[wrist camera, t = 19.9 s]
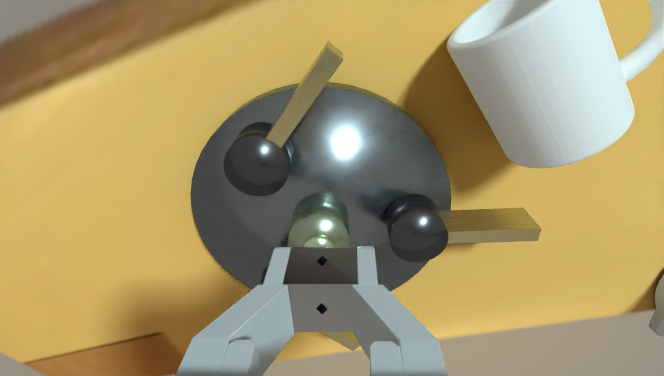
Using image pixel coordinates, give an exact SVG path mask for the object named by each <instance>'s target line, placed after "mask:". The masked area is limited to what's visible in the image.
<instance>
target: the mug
mask: <svg viewBox="0 0 664 376" xmlns="http://www.w3.org/2000/svg"><path fill="white" fill-rule="evenodd" d="M647 1H648V4H649V7H650V11H651V25H650V29H649V31H648V33H647V35H646V36H645V38H644V39H643V40H642V41H641V42H640V43H639V44H638V45H637V46H636V47H635V48H634V49H633V50H632V51H630V52H629V53H628V54H627V55H625V56H624V57H623V58H621V59H620V60H618V58H617V55H616V52H615V49H614V46H613V43H612V40H611V36H610V33H609V30H608V27H607V24H606V21H605V18H604V15H603V12H602V9H601V6H600V3H599V0H489V1H487V2H486V3H485V4H483V5H482V6H481V7H479V8H478V9H477V10H475V11H474V12H473V13H472V14H471V15H469V16H468V17H467V18H466V19H465V20H464V21H463V22H462V23H461V24H460V25H459V26H458V27H457V28H456V29H455V30H454V31H453V33H452V34H451V35H450V37H449V39H448V41H447V50H448V52H449V54H450V55H451V57H452V59H453V61H454V63H455V64H456V66H457V68H458V70H459V72H460V73H461V75H462V77H463V79H464V81H465V82H466V84H467V86H468V88H469V90H470V91H471V93H472V95H473V97H474V99H475V101H476V102H477V104H478V106H479V108H480V110H481V111H482V113H483V115H484V117H485V119H486V120H487V122H488V124H489V126H490V128H491V129H492V131H493V133H494V135H495V137H496V138H497V140H498V142H499V144H500V146H501V147H502V149H503V151H504V153H505V155H506V156H507V157H508V159H509V160H511V161H512V162H514V163H515V164H518V165H520V166H524V167H529V168H551V167H558V166H563V165H567V164H571V163H574V162H577V161H580V160H583V159H585V158H588V157H590V156H592V155H594V154H596V153H598V152H600V151H602V150H604V149H605V148H607V147H608V146H610V145H611V144H613V143H614V142H615V141H616V140H618V139H619V138H620V137H621V136H622V135H623V134H624V133H625V132H626V131H627V129H628V128H629V126H630V125H631V123H632V121H633V118H634V106H633V103H632V100H631V97H630V94H629V91H628V88H627V85H626V83H627V82H628V81H630V80H631V79H632V78H634V77H635V76H636V75H638V74H639V73H640V72H642V71H643V70H644V69H645V68H646V67H647V66H649V65H650V64H651V63H652V62H653V61H654V60H655V59H656V57H657V56H658V55H659V54H660V53H661V51H662V50H663V49H664V0H647Z"/></svg>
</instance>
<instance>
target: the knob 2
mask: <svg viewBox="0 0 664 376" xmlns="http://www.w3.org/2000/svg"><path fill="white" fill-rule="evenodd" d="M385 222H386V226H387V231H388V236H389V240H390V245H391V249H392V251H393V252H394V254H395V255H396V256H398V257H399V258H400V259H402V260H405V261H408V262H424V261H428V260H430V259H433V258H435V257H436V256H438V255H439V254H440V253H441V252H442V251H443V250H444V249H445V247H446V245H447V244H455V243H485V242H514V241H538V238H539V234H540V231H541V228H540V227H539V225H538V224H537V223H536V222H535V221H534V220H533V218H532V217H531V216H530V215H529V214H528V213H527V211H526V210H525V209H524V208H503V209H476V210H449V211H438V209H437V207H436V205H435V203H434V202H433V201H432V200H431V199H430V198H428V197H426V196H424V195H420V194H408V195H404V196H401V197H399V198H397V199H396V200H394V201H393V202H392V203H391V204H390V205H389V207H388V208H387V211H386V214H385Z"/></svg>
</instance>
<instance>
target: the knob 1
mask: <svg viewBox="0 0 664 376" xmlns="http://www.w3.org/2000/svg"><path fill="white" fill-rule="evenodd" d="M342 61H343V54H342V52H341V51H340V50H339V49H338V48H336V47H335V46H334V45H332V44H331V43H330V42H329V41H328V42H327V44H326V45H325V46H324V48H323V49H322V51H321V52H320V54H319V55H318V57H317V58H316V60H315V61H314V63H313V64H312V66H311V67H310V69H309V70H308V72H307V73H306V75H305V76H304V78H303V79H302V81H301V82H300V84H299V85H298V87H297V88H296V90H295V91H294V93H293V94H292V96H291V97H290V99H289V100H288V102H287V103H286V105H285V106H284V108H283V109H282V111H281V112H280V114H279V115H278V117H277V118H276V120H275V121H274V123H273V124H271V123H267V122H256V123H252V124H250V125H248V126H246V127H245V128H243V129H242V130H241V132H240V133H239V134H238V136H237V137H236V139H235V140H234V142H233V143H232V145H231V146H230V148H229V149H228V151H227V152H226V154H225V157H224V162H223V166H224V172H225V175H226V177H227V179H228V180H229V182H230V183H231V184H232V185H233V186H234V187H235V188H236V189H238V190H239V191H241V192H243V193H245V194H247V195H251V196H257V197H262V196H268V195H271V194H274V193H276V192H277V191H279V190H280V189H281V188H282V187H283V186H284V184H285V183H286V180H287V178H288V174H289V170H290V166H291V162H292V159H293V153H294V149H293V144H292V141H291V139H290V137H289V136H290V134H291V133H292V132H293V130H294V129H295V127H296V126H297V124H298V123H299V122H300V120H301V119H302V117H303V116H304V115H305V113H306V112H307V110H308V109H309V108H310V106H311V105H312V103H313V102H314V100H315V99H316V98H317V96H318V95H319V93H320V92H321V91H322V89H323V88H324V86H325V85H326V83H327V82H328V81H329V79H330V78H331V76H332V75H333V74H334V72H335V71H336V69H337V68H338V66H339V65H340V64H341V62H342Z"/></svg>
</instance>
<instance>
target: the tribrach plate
mask: <svg viewBox="0 0 664 376" xmlns="http://www.w3.org/2000/svg"><path fill="white" fill-rule="evenodd" d="M298 85H299V84H292V85H288V86H284V87H281V88H277V89H274V90H271V91H269V92H266V93H264V94H262V95H259V96H257V97H255V98H254V99H252V100H250V101H249V102H247V103H245V104H244V105H242V106H241V107H240V108H239V109H237V110H236V111H235V112H234V113H232V114H231V115H230V116H229V117H228V118H227V119H226V120H225V121H224V123H223V124H222V125H221V126H220V127H219V128H218V129H217V130H216V132H215V133H214V134H213V135H212V136H211V138H210V139H209V141H208V142H207V144H206V145H205V147H204V148H203V150H202V152H201V154H200V156H199V159H198V161H197V163H196V166H195V170H194V174H193V178H192V186H191V206H192V212H193V217H194V221H195V224H196V227H197V229H198V232H199V235H200V237H201V238H202V240H203V242H204V244H205V246H206V248H207V249H208V250H209V252H210V253H211V254H212V256H213V257H214V258H215V260H216V261H217V262H218V263H219V264H220V265H221V266H222V267H223V268H224V269H225V270H226V271H227V272H228V273H230V274H231V275H232V276H233V277H234V278H236V279H237V280H239V281H240V282H241V283H243V284H244V285H246V286H248V287H249V288H251V289H253V288H255V287H256V286H257V285H260V281H261V277H262V273H263V271H264V269H265V268H266V267H267V266H268V265H269V263H270V260H271V256H272V253H273V250H274V249H275V248H276V247H356V248H357V247H359V246H373V247H374V250H375V260H376V270H377V281H378V285H384V286H385V287H386V288H387V289H388V290H389V291H392V290H394V289H396V288H397V287H399V286H400V285H402V284H404V283H405V282H407V281H408V280H409V279H410V278H412V277H413V276H414V275H415V274H417V273H418V272H419V271H420V270H421V269H422V268H423V267H424V266H425V265H426V264H427V262H428V261H429V260H428V261H424V262H408V261H405V260H402V259H400V258H399V257H398V256H396V255H395V254H394V252H393V251H392V249H391V245H390V240H389V236H388V231H387V226H386V222H385V214H386V211H387V208H388V207H389V205H390V204H391V203H392V202H393V201H394V200H396V199H397V198H399V197H401V196H404V195H408V194H420V195H424V196H426V197H428V198H430V199H431V200H432V201H433V202H434V203H435V205H436V207H437V209H438V211H449V210H450V209H451V192H450V183H449V179H448V175H447V172H446V168H445V166H444V164H443V161H442V159H441V157H440V155H439V153H438V151H437V150H436V148H435V147H434V145H433V143H432V142H431V140H430V139H429V137H428V136H427V134H426V133H425V131H424V130H423V129H422V128H421V127H420V125H419V124H418V123H417V122H416V121H415V120H414V119H413V118H412V117H411V116H410V115H409V114H407V113H406V112H405V111H404V110H403V109H401V108H400V107H399V106H397V105H395V104H394V103H392V102H391V101H389V100H387V99H386V98H384V97H382V96H379V95H377V94H375V93H373V92H370V91H368V90H365V89H361V88H358V87H354V86H351V85H345V84H339V83H332V82H327V83H326V85H325V86H324V88H323V89H322V91H321V92H320V93H319V95H318V96H317V98H316V99H315V100H314V102H313V103H312V105H311V106H310V108H309V109H308V110H307V112H306V113H305V115H304V116H303V117H302V119H301V120H300V122H299V123H298V124H297V126H296V127H295V129H294V130H293V132H292V133H291V134H290V136H289V137H290V139H291V141H292V144H293V149H294V153H293V159H292V162H291V166H290V170H289V174H288V178H287V180H286V183H285V184H284V186H283V187H282V188H281V189H280V190H279V191H277V192H276V193H274V194H271V195H268V196H262V197H257V196H251V195H247V194H245V193H243V192H241V191H239V190H238V189H236V188H235V187H234V186H233V185H232V184H231V183H230V182H229V180H228V179H227V177H226V175H225V172H224V166H223V162H224V157H225V154H226V152H227V151H228V149H229V148H230V146H231V145H232V143H233V142H234V140H235V139H236V137H237V136H238V134H239V133H240V132H241V130H242V129H243V128H245V127H246V126H248V125H250V124H252V123H256V122H267V123H271V124H273V123H274V121H275V120H276V118H277V117H278V115H279V114H280V112H281V111H282V109H283V108H284V106H285V105H286V103H287V102H288V100H289V99H290V97H291V96H292V94H293V93H294V91H295V90H296V88H297V87H298Z"/></svg>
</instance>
